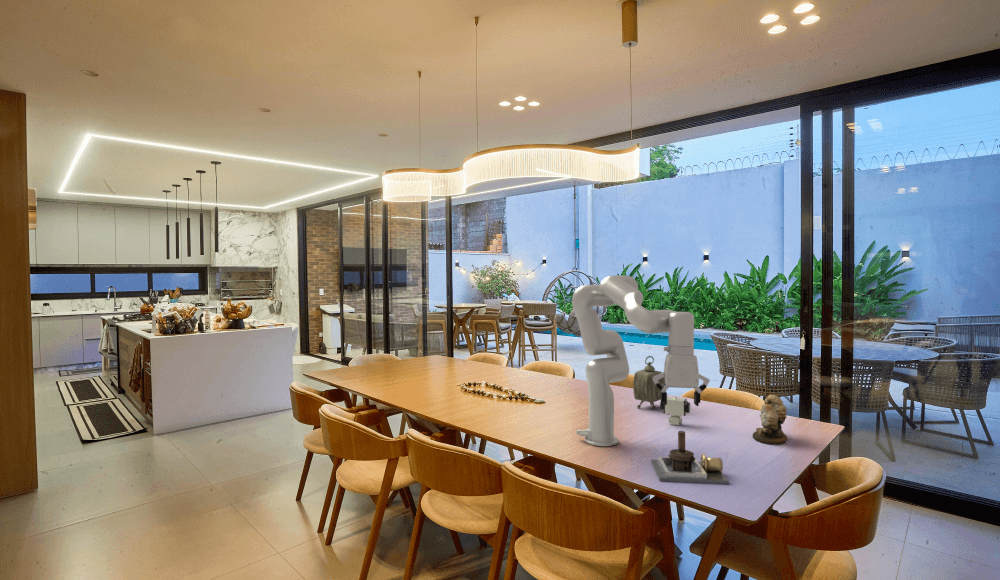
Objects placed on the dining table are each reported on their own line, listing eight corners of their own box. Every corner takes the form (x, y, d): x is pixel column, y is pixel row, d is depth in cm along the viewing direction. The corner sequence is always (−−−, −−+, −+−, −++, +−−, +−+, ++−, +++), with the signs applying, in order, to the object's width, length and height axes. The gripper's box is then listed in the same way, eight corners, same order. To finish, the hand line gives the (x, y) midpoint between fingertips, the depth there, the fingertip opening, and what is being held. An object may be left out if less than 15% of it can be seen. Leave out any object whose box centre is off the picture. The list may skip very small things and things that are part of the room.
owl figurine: (754, 430, 206) (754, 388, 206) (787, 435, 200) (788, 392, 200) (751, 442, 190) (751, 397, 190) (787, 447, 184) (787, 400, 184)
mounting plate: (659, 481, 153) (659, 461, 153) (651, 462, 169) (650, 444, 169) (728, 484, 150) (728, 464, 150) (713, 465, 166) (713, 447, 166)
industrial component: (698, 468, 160) (698, 431, 160) (690, 475, 155) (690, 436, 155) (669, 462, 166) (669, 426, 166) (660, 468, 161) (660, 431, 161)
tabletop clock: (650, 403, 252) (650, 353, 252) (666, 407, 245) (666, 355, 245) (633, 408, 242) (633, 356, 242) (649, 412, 236) (649, 358, 235)
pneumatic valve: (688, 427, 210) (688, 398, 210) (660, 423, 216) (660, 395, 215) (690, 424, 215) (690, 396, 215) (662, 420, 220) (662, 393, 220)
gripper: (654, 352, 157) (654, 406, 157) (712, 353, 155) (712, 408, 155) (650, 348, 164) (650, 400, 165) (706, 349, 162) (705, 402, 163)
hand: (680, 404), depth 160 cm, fingers open, 9 cm apart
